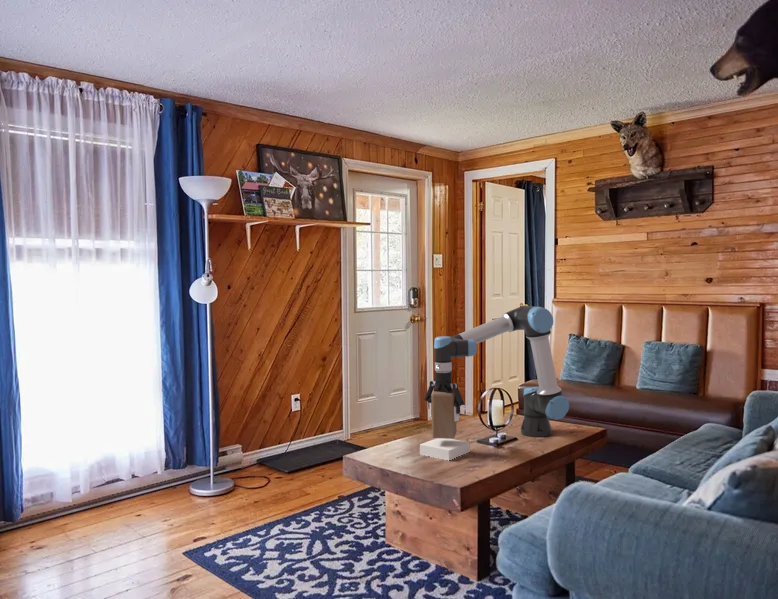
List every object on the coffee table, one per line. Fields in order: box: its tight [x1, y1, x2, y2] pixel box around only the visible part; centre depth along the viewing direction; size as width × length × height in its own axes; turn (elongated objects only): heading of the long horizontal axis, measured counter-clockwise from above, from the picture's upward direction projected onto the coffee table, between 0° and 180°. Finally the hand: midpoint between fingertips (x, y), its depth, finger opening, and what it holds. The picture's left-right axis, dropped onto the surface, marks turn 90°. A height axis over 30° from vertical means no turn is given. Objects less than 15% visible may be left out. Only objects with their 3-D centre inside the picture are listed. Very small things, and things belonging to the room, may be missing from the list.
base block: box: [419, 438, 471, 462], centre depth 274 cm, size 16×16×5 cm
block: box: [431, 390, 457, 439], centre depth 273 cm, size 10×10×20 cm
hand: (444, 418), depth 273 cm, fingers closed on block, 13 cm apart
